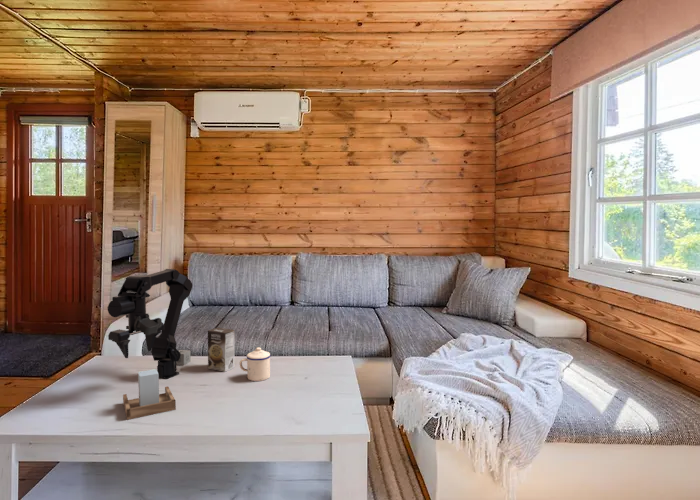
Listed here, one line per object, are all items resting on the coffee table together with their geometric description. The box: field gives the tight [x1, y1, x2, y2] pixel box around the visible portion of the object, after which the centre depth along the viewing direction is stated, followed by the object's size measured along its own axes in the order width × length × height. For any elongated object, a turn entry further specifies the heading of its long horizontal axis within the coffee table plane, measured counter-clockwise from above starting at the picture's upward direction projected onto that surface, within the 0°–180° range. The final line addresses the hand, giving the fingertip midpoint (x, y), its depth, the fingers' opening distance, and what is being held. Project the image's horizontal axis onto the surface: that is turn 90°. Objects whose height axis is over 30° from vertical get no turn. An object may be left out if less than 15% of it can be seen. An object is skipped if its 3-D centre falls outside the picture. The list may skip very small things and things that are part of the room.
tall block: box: [137, 368, 160, 406], centre depth 141 cm, size 5×6×10 cm
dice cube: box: [176, 349, 191, 366], centre depth 184 cm, size 5×5×5 cm
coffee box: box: [207, 327, 235, 373], centre depth 178 cm, size 9×6×16 cm
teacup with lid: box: [239, 347, 271, 382], centre depth 168 cm, size 12×9×12 cm
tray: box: [122, 386, 177, 421], centre depth 141 cm, size 14×14×3 cm
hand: (138, 354), depth 154 cm, fingers open, 9 cm apart
